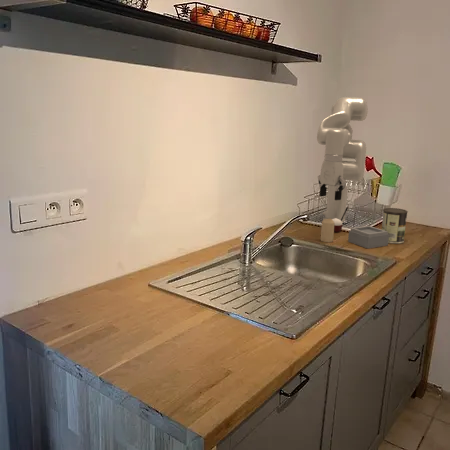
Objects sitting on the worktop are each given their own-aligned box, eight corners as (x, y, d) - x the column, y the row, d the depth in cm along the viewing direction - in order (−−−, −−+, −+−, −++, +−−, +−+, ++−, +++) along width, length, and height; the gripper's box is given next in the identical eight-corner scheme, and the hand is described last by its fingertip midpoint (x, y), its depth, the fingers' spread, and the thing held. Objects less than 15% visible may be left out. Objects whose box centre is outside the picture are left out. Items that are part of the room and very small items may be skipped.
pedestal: (347, 241, 222) (349, 228, 220) (367, 238, 228) (369, 225, 226) (367, 248, 212) (369, 234, 210) (387, 245, 217) (389, 231, 216)
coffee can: (399, 237, 230) (403, 208, 227) (407, 244, 220) (410, 213, 217) (377, 237, 231) (380, 207, 227) (383, 243, 221) (387, 212, 217)
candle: (326, 238, 226) (328, 216, 223) (335, 241, 222) (337, 219, 219) (317, 240, 223) (319, 218, 220) (327, 243, 218) (328, 220, 216)
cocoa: (324, 232, 238) (325, 207, 235) (328, 229, 244) (329, 205, 241) (344, 234, 234) (345, 209, 231) (348, 231, 239) (348, 206, 236)
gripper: (313, 156, 219) (310, 195, 223) (340, 161, 204) (337, 202, 208) (326, 156, 222) (323, 194, 226) (354, 160, 208) (350, 201, 212)
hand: (330, 197), depth 217 cm, fingers open, 9 cm apart
